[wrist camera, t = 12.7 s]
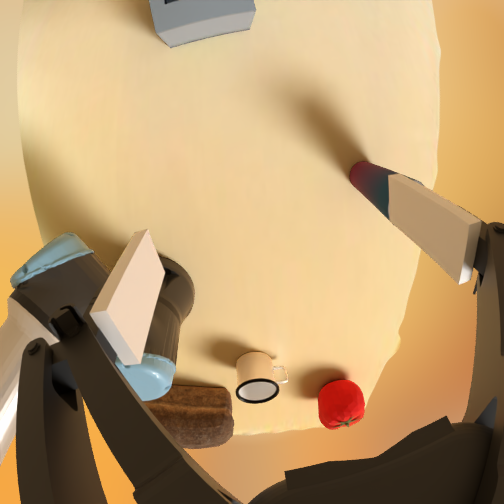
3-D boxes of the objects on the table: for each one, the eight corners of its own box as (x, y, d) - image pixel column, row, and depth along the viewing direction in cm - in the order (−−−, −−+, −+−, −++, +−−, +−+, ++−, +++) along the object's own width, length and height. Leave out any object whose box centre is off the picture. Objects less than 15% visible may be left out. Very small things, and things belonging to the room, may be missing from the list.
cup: (347, 154, 45) (393, 177, 31) (381, 158, 45) (433, 182, 32) (342, 192, 48) (383, 228, 35) (376, 195, 48) (422, 229, 35)
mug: (234, 375, 68) (236, 405, 60) (233, 350, 63) (235, 381, 55) (282, 372, 69) (288, 401, 61) (286, 347, 64) (293, 377, 56)
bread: (230, 412, 77) (233, 458, 63) (124, 403, 72) (116, 447, 59) (234, 385, 70) (238, 438, 56) (114, 374, 66) (101, 423, 52)
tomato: (329, 368, 70) (344, 411, 58) (367, 373, 74) (383, 411, 62) (300, 400, 76) (309, 440, 64) (337, 403, 80) (348, 439, 68)
